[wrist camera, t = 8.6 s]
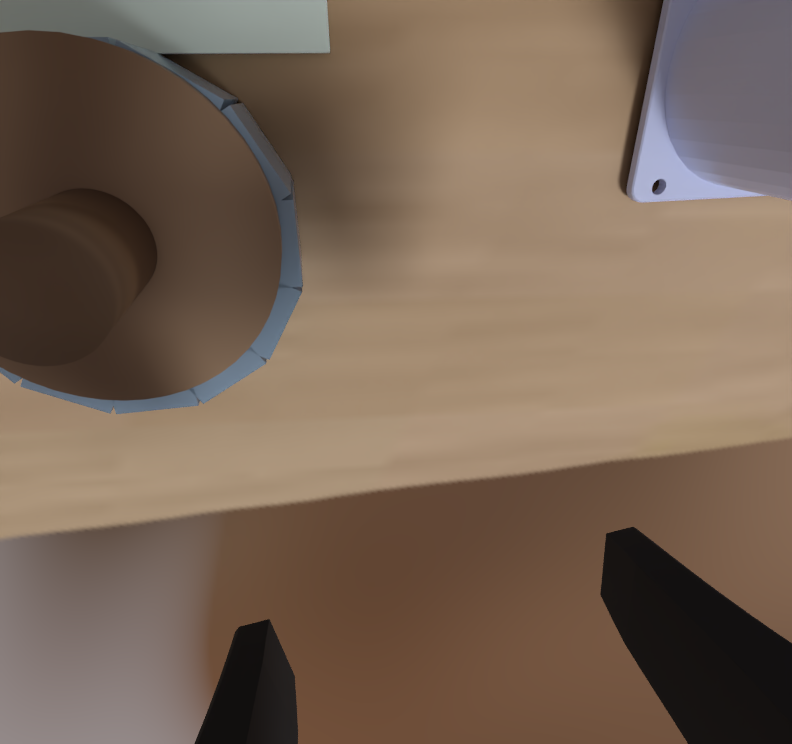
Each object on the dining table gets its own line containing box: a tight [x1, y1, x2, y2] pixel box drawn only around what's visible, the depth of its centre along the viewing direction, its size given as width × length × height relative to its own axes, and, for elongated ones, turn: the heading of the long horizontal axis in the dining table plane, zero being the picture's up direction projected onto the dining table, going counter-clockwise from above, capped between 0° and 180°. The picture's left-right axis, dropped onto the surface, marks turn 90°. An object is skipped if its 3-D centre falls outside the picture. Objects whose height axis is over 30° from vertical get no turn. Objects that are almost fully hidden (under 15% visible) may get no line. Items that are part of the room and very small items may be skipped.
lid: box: [0, 30, 282, 401], centre depth 11 cm, size 8×8×4 cm
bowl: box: [0, 37, 303, 414], centre depth 14 cm, size 9×9×4 cm
